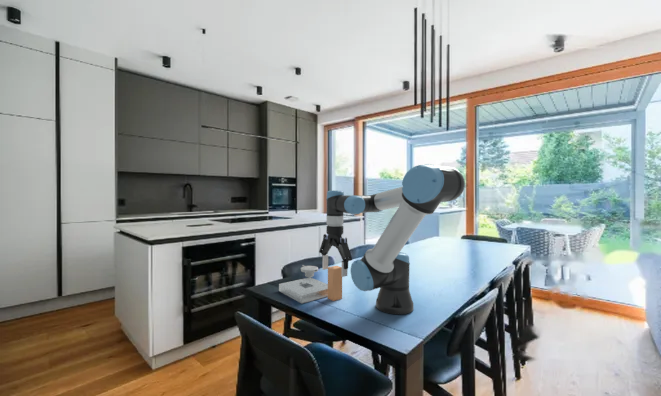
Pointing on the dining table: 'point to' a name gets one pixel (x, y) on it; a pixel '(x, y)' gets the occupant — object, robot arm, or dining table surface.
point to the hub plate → (304, 289)
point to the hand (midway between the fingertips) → (334, 272)
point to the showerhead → (309, 270)
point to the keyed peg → (334, 283)
